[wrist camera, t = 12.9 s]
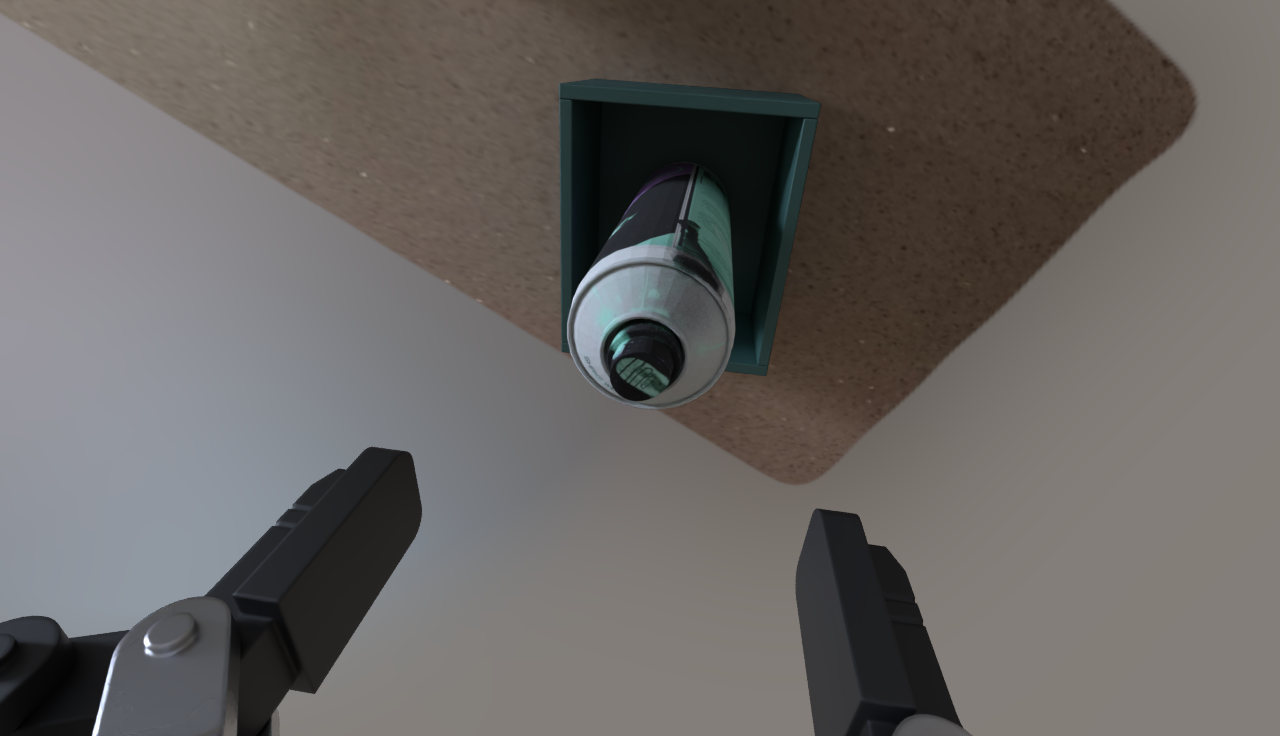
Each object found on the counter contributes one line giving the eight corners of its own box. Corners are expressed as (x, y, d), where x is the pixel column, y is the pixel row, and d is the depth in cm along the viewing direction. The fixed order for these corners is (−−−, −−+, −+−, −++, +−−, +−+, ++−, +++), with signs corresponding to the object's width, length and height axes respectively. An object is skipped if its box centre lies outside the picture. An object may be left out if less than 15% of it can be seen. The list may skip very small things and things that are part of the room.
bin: (594, 78, 30) (558, 83, 24) (799, 94, 30) (821, 103, 23) (589, 300, 37) (561, 352, 30) (758, 318, 36) (766, 376, 29)
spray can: (645, 152, 31) (551, 265, 14) (740, 171, 31) (762, 310, 14) (630, 244, 34) (534, 434, 17) (716, 262, 34) (711, 473, 17)
